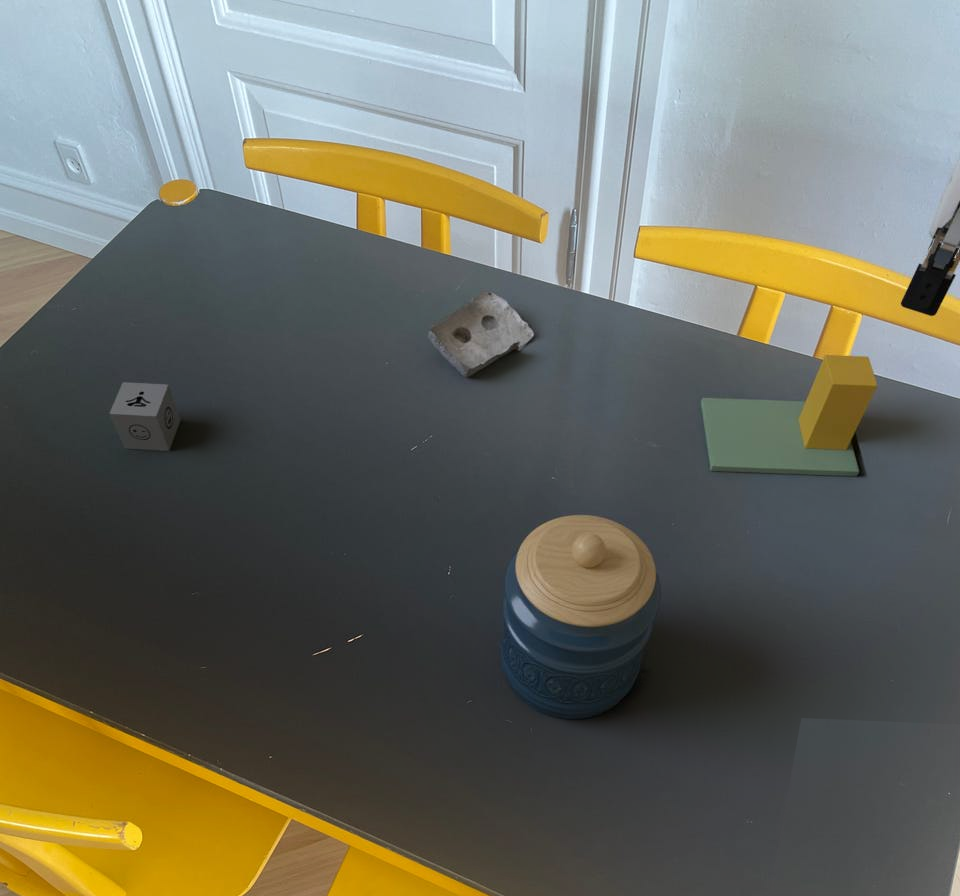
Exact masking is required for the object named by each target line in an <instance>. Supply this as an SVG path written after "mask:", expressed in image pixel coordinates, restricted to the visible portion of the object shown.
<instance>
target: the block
mask: <svg viewBox="0 0 960 896" xmlns="http://www.w3.org/2000/svg"><path fill="white" fill-rule="evenodd" d="M877 387H878V382H877V380H876V376H875V372H874V370H873V367H872V363H871V360H870V358H869V356H867V355H866V356H865V355H863V356H862V355H839V354H838V355H837V354H824V357H823V359H822V361H821V364H820V366H819V369H818V371H817V373H816V376H815V378H814V381H813V383H812V385H811V387H810V390H809V392H808V395H807V398H806V400H805V402H806V403H805V405H804V407H803V410H802V412H801V415H800V417H799V425H800V429H801V433H802V437H803V442H804V446H805V448H810V449H837V450H846V449H847V447H848V445H849V443H850V441H851V442H852V439H853V437H854V435H855V433H856V431H857V429H858V427H859V425H860V422H861V421H862V419H863V416H864V414H865V413H866V411H867V408H868V407H869V404H870V402H871V401H872V398H873V396H874V394H875V392H876V390H877Z"/></svg>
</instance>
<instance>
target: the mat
mask: <svg viewBox="0 0 960 896" xmlns="http://www.w3.org/2000/svg"><path fill="white" fill-rule="evenodd" d="M805 403H806V400H805V401H802V400H777V399H751V398H750V399H748V398H747V399H746V398H723V397H722V398H720V397H702V398H701V400H700V407H701V415H702V421H703V428H704V434H705V443H706V448H707V455H708V461H709V462H708V463H709V469H710V471H711V472H726V473H727V472H730V473H754V474H755V473H760V474H779V475H780V474H782V475H784V474H785V475H805V476H806V475H807V476H808V475H809V476H810V475H811V476H832V477H833V476H835V477H858V476H859V473H860V468H859V465H858V461H857V458H856V454H855V450H854V447H853V443H852V440H851V441H850V443H849V445H848V447H847V449H846V450H837V449H810V448H805V446H804V442H803V437H802V433H801V429H800V425H799V417H800V415H801V412H802V410H803V407H804V405H805Z"/></svg>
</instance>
